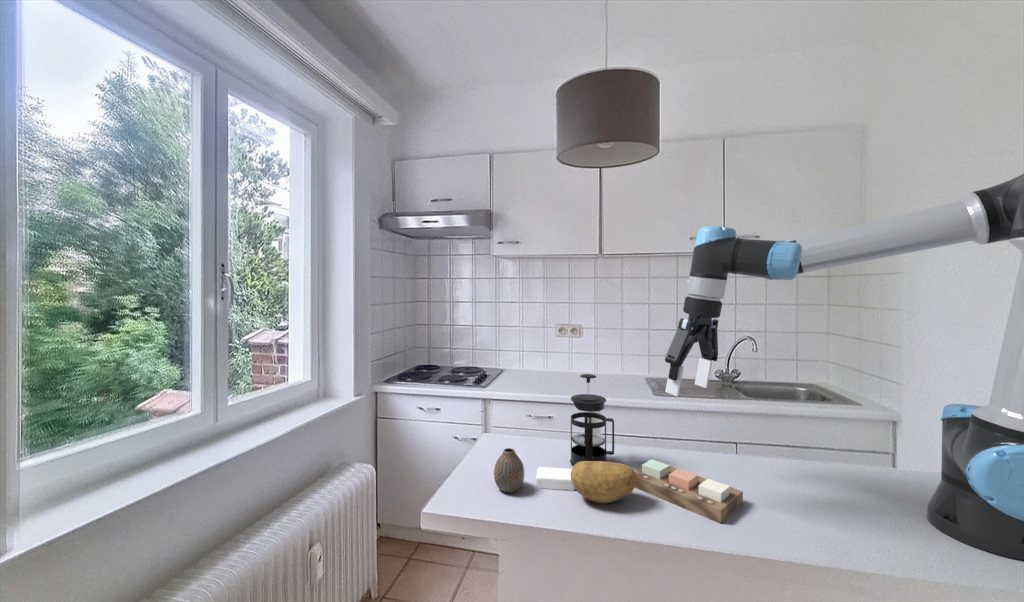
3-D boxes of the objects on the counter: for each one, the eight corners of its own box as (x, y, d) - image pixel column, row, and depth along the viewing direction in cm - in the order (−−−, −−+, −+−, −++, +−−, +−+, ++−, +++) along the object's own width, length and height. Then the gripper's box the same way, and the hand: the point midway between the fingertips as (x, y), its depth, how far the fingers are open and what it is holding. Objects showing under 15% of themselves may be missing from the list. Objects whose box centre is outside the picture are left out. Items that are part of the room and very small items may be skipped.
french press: (567, 470, 99) (566, 378, 98) (567, 454, 108) (567, 370, 107) (615, 473, 97) (615, 379, 96) (612, 457, 106) (612, 371, 106)
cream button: (729, 500, 82) (729, 486, 82) (720, 508, 79) (720, 493, 79) (707, 492, 85) (707, 478, 85) (698, 499, 82) (698, 485, 82)
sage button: (669, 478, 91) (669, 465, 91) (659, 484, 89) (659, 471, 89) (652, 471, 95) (652, 459, 95) (642, 477, 92) (642, 464, 92)
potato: (643, 513, 79) (643, 473, 79) (572, 511, 80) (572, 472, 80) (631, 489, 89) (631, 453, 89) (568, 487, 90) (568, 452, 90)
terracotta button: (697, 488, 87) (698, 475, 86) (688, 495, 84) (688, 481, 84) (678, 481, 90) (678, 468, 90) (668, 487, 87) (668, 474, 87)
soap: (575, 480, 94) (575, 468, 94) (576, 492, 88) (575, 478, 88) (537, 478, 95) (537, 465, 95) (535, 489, 90) (535, 476, 90)
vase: (529, 492, 88) (529, 453, 88) (499, 498, 85) (499, 458, 85) (518, 479, 94) (517, 442, 94) (490, 484, 92) (489, 446, 92)
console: (742, 503, 83) (742, 490, 83) (720, 523, 76) (720, 509, 76) (654, 470, 98) (654, 459, 98) (628, 485, 91) (628, 473, 91)
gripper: (711, 296, 99) (696, 378, 101) (658, 293, 83) (642, 391, 85) (744, 301, 93) (727, 388, 96) (693, 299, 77) (674, 404, 79)
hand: (687, 389), depth 90 cm, fingers open, 13 cm apart
